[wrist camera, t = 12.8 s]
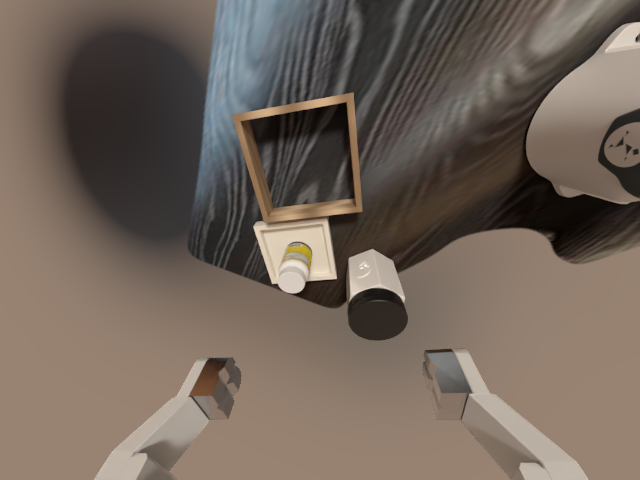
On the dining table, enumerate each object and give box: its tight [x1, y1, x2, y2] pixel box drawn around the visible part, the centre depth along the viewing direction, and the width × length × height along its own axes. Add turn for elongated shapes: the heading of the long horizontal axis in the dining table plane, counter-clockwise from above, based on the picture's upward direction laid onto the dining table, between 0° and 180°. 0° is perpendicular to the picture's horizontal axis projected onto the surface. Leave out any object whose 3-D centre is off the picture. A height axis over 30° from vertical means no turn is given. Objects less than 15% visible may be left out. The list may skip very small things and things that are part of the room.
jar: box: [346, 249, 408, 340], centre depth 38 cm, size 9×8×12 cm
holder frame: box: [232, 93, 362, 223], centre depth 33 cm, size 15×15×4 cm
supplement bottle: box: [278, 241, 312, 293], centre depth 38 cm, size 5×5×8 cm
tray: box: [254, 216, 337, 284], centre depth 41 cm, size 12×12×2 cm
